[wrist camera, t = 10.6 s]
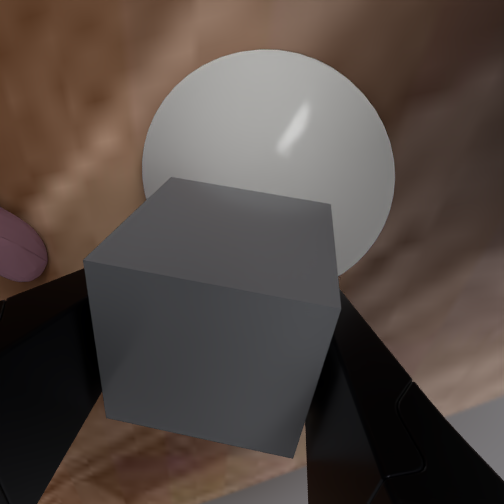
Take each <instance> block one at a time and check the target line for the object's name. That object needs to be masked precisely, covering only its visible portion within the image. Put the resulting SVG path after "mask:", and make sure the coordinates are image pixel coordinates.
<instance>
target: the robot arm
mask: <svg viewBox="0 0 504 504" xmlns="http://www.w3.org/2000/svg"><path fill="white" fill-rule="evenodd" d="M339 291H340V302H341V311H340V314H339V317H338V320H337V323H336V327H335V330H334V333H333V336H332V339H331V342H330V345H329V348H328V351H327V355H326V358H325V361H324V364H323V367H322V370H321V373H320V376H319V379H318V382H317V386H316V389H315V392H314V395H313V398H312V401H311V404H310V407H309V410H308V414H307V417H306V420H305V427H306V455H307V480H308V504H504V481H503V480H502V479H501V477H500V476H498V475H497V473H496V472H495V471H494V470H493V469H492V468H491V467H490V466H489V465H488V464H487V463H486V462H485V461H484V460H483V459H482V458H481V457H480V455H478V453H477V452H476V451H475V450H474V449H473V448H472V447H471V446H470V445H469V444H468V443H467V442H466V441H465V440H464V439H463V437H462V436H461V435H460V434H459V433H458V432H457V431H456V430H455V429H454V428H453V427H452V426H451V424H450V423H449V422H448V421H447V420H446V419H445V418H444V417H443V415H442V414H441V413H440V412H439V411H438V409H437V408H436V407H435V406H434V405H433V404H432V402H431V401H430V400H429V399H428V398H427V396H426V395H425V394H424V393H423V392H422V390H421V389H420V388H419V387H418V385H417V384H416V383H415V382H412V378H411V377H410V376H409V374H408V373H407V372H406V371H405V369H404V368H403V367H402V366H401V365H400V363H399V362H398V361H397V360H396V358H395V357H394V356H393V355H392V353H391V352H390V351H389V350H388V348H387V347H386V346H385V345H384V343H383V342H382V341H381V340H380V339H379V337H378V336H377V335H376V334H375V332H374V331H373V330H372V329H371V327H370V326H369V325H368V324H367V322H366V321H365V320H364V319H363V317H362V316H361V315H360V314H359V313H358V311H357V310H356V309H355V308H354V306H353V305H352V304H351V303H350V301H349V300H348V299H347V298H346V296H345V295H344V294H343V293H342V291H341V290H340V289H339ZM101 392H102V386H101V379H100V372H99V365H98V358H97V351H96V345H95V338H94V331H93V324H92V317H91V311H90V304H89V297H88V290H87V283H86V276H85V270H84V269H81V270H78V271H76V272H73V273H71V274H68V275H66V276H63V277H60V278H58V279H55V280H53V281H50V282H48V283H45V284H42V285H40V286H37V287H35V288H32V289H30V290H27V291H25V292H22V293H19V294H17V295H14V296H12V297H9V298H7V300H6V301H5V300H1V301H0V504H37V503H38V501H39V500H40V498H41V496H42V494H43V493H44V491H45V489H46V487H47V486H48V484H49V482H50V481H51V479H52V477H53V475H54V474H55V472H56V470H57V468H58V467H59V465H60V463H61V462H62V460H63V458H64V456H65V455H66V453H67V451H68V449H69V448H70V446H71V444H72V443H73V441H74V439H75V437H76V436H77V434H78V432H79V430H80V429H81V427H82V425H83V423H84V422H85V420H86V418H87V417H88V415H89V413H90V411H91V410H92V408H93V406H94V404H95V403H96V401H97V399H98V398H99V396H100V394H101Z"/></svg>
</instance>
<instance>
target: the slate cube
mask: <svg viewBox="0 0 504 504" xmlns="http://www.w3.org/2000/svg"><path fill="white" fill-rule="evenodd" d="M83 263H84V270H85V276H86V283H87V290H88V297H89V304H90V311H91V317H92V324H93V331H94V338H95V345H96V351H97V358H98V365H99V372H100V379H101V386H102V392H103V399H104V406H105V413H106V418H109V419H114V420H118V421H123V422H127V423H132V424H136V425H141V426H146V427H150V428H155V429H159V430H164V431H168V432H173V433H178V434H182V435H187V436H191V437H196V438H201V439H205V440H210V441H214V442H219V443H223V444H228V445H233V446H237V447H242V448H246V449H251V450H255V451H260V452H265V453H269V454H274V455H278V456H283V457H287V458H292V459H293V457H294V454H295V451H296V448H297V445H298V442H299V438H300V435H301V432H302V429H303V426H304V423H305V420H306V417H307V414H308V410H309V407H310V404H311V401H312V398H313V395H314V392H315V389H316V386H317V382H318V379H319V376H320V373H321V370H322V367H323V364H324V361H325V358H326V355H327V351H328V348H329V345H330V342H331V339H332V336H333V333H334V330H335V327H336V323H337V320H338V317H339V314H340V311H341V302H340V291H339V281H338V271H337V261H336V251H335V241H334V231H333V221H332V211H331V204H328V203H322V202H316V201H310V200H304V199H298V198H292V197H286V196H281V195H275V194H269V193H263V192H257V191H251V190H245V189H239V188H234V187H228V186H222V185H216V184H210V183H204V182H198V181H192V180H186V179H181V178H175V177H170V178H169V179H168V180H167V181H166V182H165V183H164V184H163V185H162V186H161V187H160V188H159V189H158V190H157V191H156V192H154V193H153V194H152V195H151V196H150V197H149V198H148V199H147V200H146V201H145V202H144V203H143V204H142V205H141V206H140V207H139V208H138V209H136V210H135V211H134V212H133V213H132V214H131V215H130V216H129V217H128V218H127V219H126V220H125V221H124V222H123V223H122V224H121V225H120V226H119V227H117V228H116V229H115V230H114V231H113V232H112V233H111V234H110V235H109V236H108V237H107V238H106V239H105V240H104V241H103V242H102V243H101V244H99V245H98V246H97V247H96V248H95V249H94V250H93V251H92V252H91V253H90V254H89V255H88V256H87V257H86V258H85V259H84V260H83Z"/></svg>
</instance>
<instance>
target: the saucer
mask: <svg viewBox="0 0 504 504" xmlns="http://www.w3.org/2000/svg"><path fill="white" fill-rule="evenodd" d="M170 177H175V178H181V179H186V180H192V181H198V182H204V183H210V184H216V185H222V186H228V187H234V188H239V189H245V190H251V191H257V192H263V193H269V194H275V195H281V196H286V197H292V198H298V199H304V200H310V201H316V202H322V203H328V204H331V211H332V221H333V231H334V241H335V251H336V261H337V271H338V276H339V275H341V274H343V273H344V272H346V271H347V270H348V269H350V268H351V267H352V266H353V265H354V264H356V263H357V262H358V261H359V260H360V259H361V258H362V257H363V256H364V255H365V254H366V253H367V252H368V250H369V249H370V248H371V246H372V245H373V243H374V242H375V241H376V239H377V238H378V236H379V234H380V232H381V230H382V229H383V227H384V225H385V222H386V220H387V217H388V214H389V212H390V208H391V204H392V200H393V195H394V185H395V167H394V158H393V153H392V148H391V143H390V140H389V138H388V135H387V132H386V129H385V127H384V125H383V123H382V121H381V119H380V117H379V116H378V114H377V112H376V110H375V109H374V107H373V106H372V105H371V103H370V102H369V101H368V99H367V98H366V97H365V95H364V94H363V93H362V92H361V91H360V90H359V89H358V88H357V87H356V86H355V85H354V84H353V83H352V82H351V81H350V80H349V79H348V78H346V77H345V76H344V75H342V74H341V73H340V72H338V71H337V70H335V69H334V68H333V67H331V66H329V65H327V64H325V63H323V62H321V61H319V60H317V59H315V58H312V57H309V56H306V55H303V54H300V53H296V52H290V51H285V50H271V49H260V50H252V51H244V52H238V53H234V54H231V55H227V56H223V57H220V58H218V59H216V60H214V61H211V62H209V63H207V64H205V65H203V66H201V67H200V68H198V69H197V70H195V71H194V72H192V73H191V74H189V75H188V76H186V77H185V78H184V79H183V80H182V81H181V82H180V83H179V84H178V85H176V86H175V87H174V88H173V90H172V91H171V92H170V93H169V94H168V96H167V97H166V98H165V99H164V101H163V102H162V104H161V105H160V107H159V109H158V110H157V112H156V114H155V116H154V118H153V120H152V123H151V125H150V127H149V130H148V133H147V137H146V141H145V144H144V151H143V159H142V178H143V185H144V192H145V196H146V200H147V199H148V198H149V197H150V196H151V195H152V194H153V193H154V192H156V191H157V190H158V189H159V188H160V187H161V186H162V185H163V184H164V183H165V182H166V181H167V180H168V179H169V178H170Z"/></svg>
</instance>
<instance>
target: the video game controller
mask: <svg viewBox="0 0 504 504" xmlns="http://www.w3.org/2000/svg"><path fill="white" fill-rule="evenodd" d="M47 261H48V258H47V251H46V248H45V245H44V243H43V241H42V239H41V238H40V237H39V235H38V234H37V232H36V231H35V230H34V229H33V228H32V227H31V226H30V225H28V224H27V223H26V222H24V221H23V220H21V219H20V218H18V217H17V216H15V215H14V214H12V213H10V212H8V211H7V210H5V209H3V208H2V207H0V276H3V277H5V278H7V279H9V280H13V281H17V282H28V281H32V280H34V279H35V278H37V277H38V276H40V275H41V274H42V272H43V271H44V269H45V267H46V265H47Z"/></svg>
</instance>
